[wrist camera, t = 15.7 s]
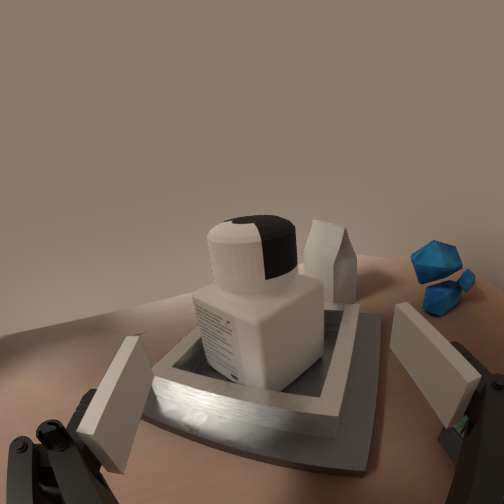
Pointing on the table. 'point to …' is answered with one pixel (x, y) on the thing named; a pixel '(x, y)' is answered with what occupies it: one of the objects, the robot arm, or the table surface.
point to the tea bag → (332, 261)
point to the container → (259, 304)
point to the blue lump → (440, 276)
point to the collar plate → (279, 401)
